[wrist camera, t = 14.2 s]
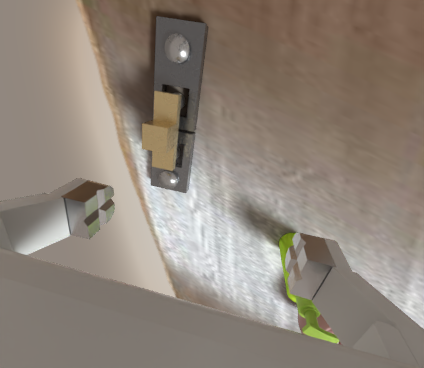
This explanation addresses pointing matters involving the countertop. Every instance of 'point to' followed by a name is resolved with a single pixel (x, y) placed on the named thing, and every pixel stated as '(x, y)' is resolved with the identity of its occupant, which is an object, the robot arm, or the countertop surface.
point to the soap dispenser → (304, 300)
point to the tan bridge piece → (164, 130)
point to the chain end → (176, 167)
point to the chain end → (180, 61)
